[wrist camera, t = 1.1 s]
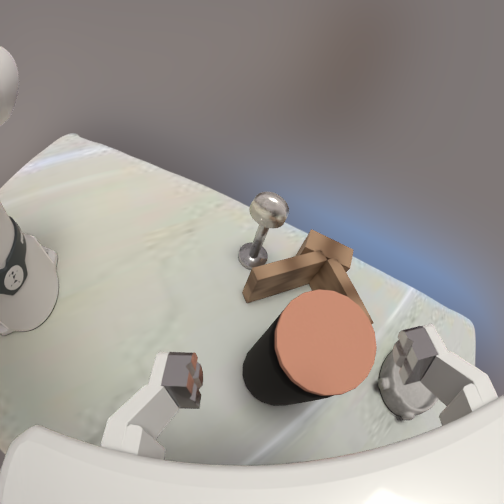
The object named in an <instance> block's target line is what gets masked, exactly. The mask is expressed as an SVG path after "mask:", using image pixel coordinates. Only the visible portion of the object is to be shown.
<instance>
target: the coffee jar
mask: <svg viewBox="0 0 504 504" xmlns="http://www.w3.org/2000/svg"><path fill="white" fill-rule="evenodd" d="M375 354H376V340H375V332H374V330H373V327H372V325H371V322H370V320H369V318H368V317H367V315H366V314H365V313H364V311H363V310H362V309H361V307H360V306H359V305H358V304H356V303H355V302H354V301H352V300H351V299H350V298H349V297H347V296H345V295H342V294H340V293H338V292H335V291H330V290H320V289H318V290H314V291H309V292H305V293H303V294H301V295H300V296H298V297H296V298H295V299H293V300H292V301H291V302H290V303H289V304H288V305H287V307H286V308H285V309H284V310H283V311H282V313H281V314H280V315H279V316H278V317H277V319H276V320H275V321H274V322H273V323H272V325H271V326H270V327H269V328H268V329H267V331H266V332H265V333H264V334H263V335H262V337H261V338H260V339H259V340H258V341H257V343H256V344H255V345H254V346H253V347H252V348H251V350H250V351H249V352H248V353H247V356H246V358H245V361H244V363H243V376H244V380H245V383H246V386H247V387H248V389H249V390H250V392H251V393H252V394H253V395H254V396H255V397H256V398H258V399H259V400H260V401H262V402H264V403H267V404H270V405H290V404H296V403H302V402H308V401H314V400H319V399H324V398H328V397H331V396H333V395H341V394H344V393H346V392H348V391H350V390H352V389H355V388H356V387H357V386H358V385H359V384H360V383H361V382H362V381H363V380H364V379H365V378H366V377H367V376H368V374H369V372H370V370H371V368H372V366H373V364H374V360H375Z"/></svg>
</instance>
